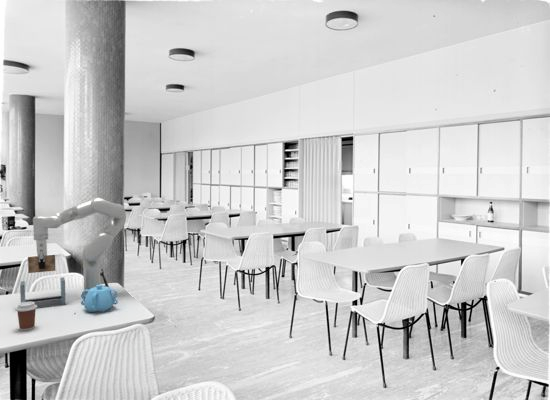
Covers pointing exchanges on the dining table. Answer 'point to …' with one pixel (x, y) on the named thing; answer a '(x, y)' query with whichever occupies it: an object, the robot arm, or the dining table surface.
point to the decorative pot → (99, 299)
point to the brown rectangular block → (34, 264)
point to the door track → (47, 300)
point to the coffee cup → (26, 315)
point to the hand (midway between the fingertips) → (42, 267)
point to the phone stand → (104, 279)
